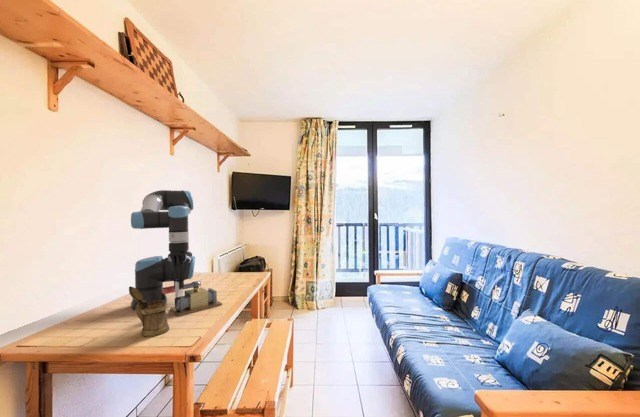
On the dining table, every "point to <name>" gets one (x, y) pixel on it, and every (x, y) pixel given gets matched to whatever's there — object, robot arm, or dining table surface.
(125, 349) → the dining table surface
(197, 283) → the lever
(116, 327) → the dining table surface
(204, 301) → the valve body
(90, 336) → the dining table surface
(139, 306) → the wooden mug
